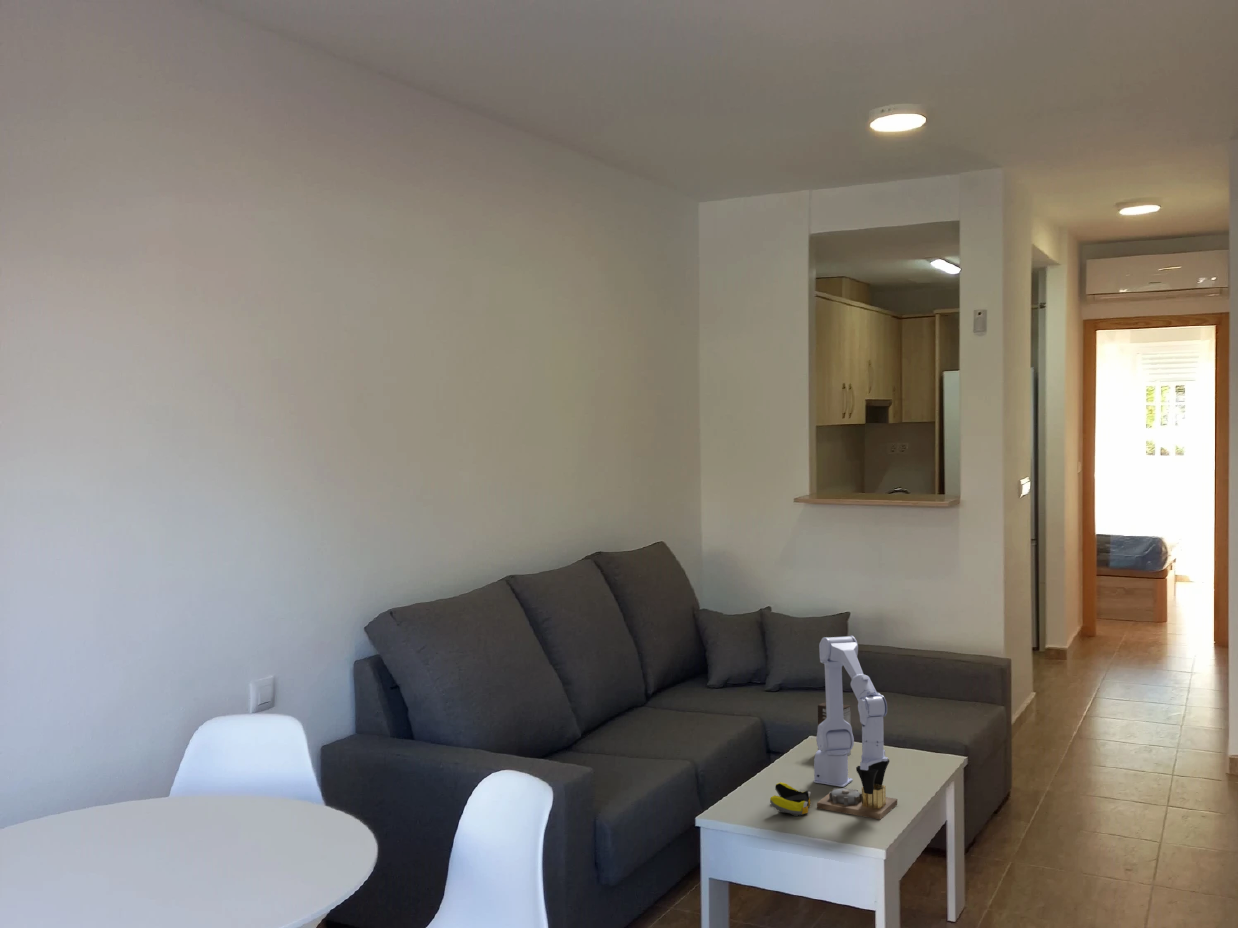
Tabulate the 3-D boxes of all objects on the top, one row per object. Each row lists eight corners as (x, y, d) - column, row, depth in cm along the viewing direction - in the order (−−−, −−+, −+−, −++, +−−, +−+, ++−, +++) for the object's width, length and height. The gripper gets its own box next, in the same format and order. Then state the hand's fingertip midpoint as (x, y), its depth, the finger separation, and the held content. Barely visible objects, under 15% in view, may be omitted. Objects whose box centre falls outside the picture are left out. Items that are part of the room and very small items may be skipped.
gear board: (817, 807, 298) (816, 793, 298) (835, 793, 310) (835, 779, 310) (880, 819, 289) (880, 803, 288) (897, 804, 300) (897, 789, 300)
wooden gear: (860, 805, 295) (860, 787, 295) (867, 800, 300) (867, 782, 299) (880, 809, 292) (880, 791, 292) (887, 803, 296) (887, 785, 296)
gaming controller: (769, 817, 292) (806, 820, 289) (769, 797, 292) (806, 799, 289) (776, 799, 306) (812, 802, 304) (776, 780, 306) (811, 782, 303)
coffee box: (816, 753, 350) (816, 704, 350) (827, 749, 355) (826, 700, 354) (841, 758, 344) (841, 708, 344) (852, 754, 349) (851, 704, 348)
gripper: (878, 748, 287) (878, 799, 287) (895, 735, 299) (896, 784, 300) (852, 744, 291) (853, 794, 291) (871, 732, 303) (871, 780, 303)
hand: (873, 789), depth 296 cm, fingers open, 7 cm apart
